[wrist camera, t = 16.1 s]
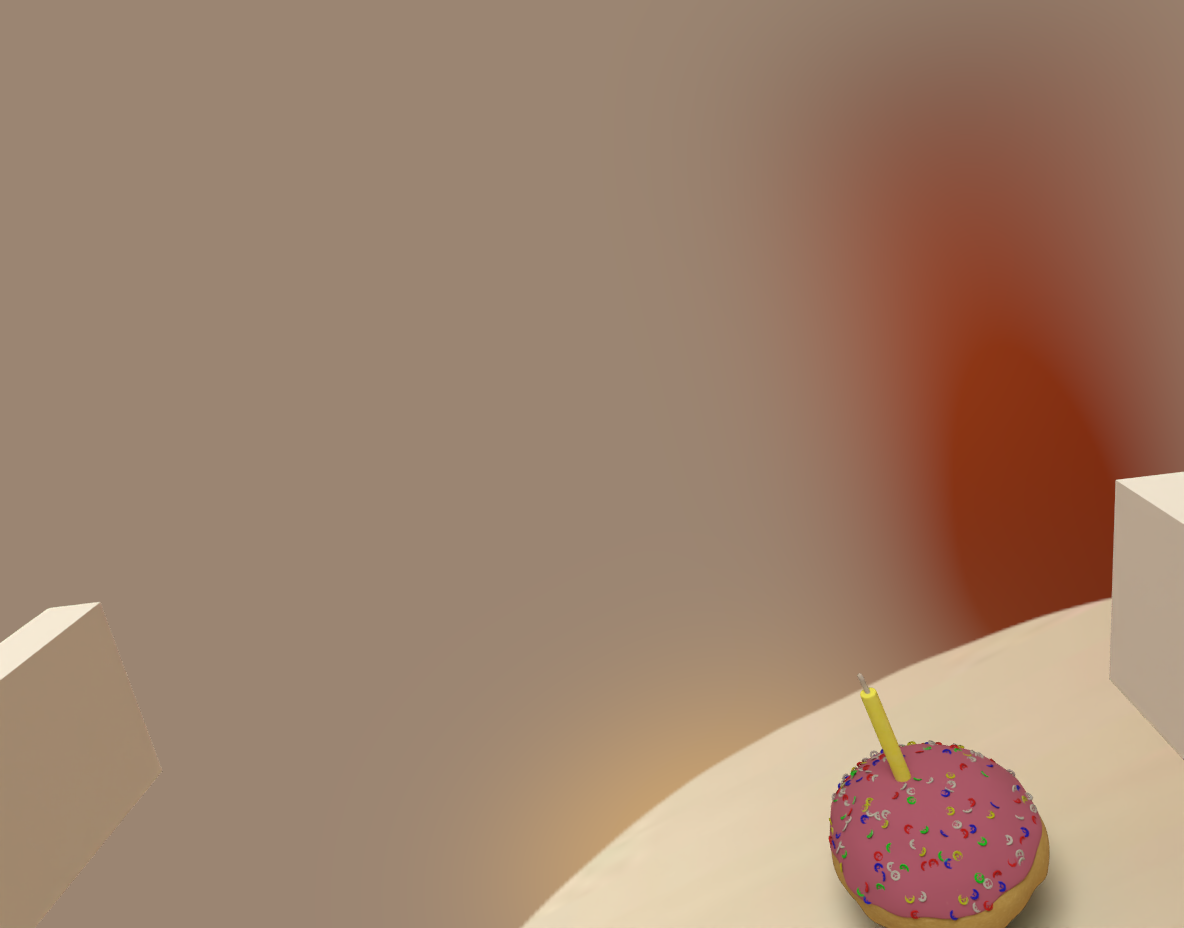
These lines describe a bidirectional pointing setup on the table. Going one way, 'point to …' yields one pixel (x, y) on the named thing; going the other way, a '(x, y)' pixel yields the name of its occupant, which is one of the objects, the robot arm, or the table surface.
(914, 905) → the cupcake
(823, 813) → the table surface
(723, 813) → the table surface
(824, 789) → the table surface
